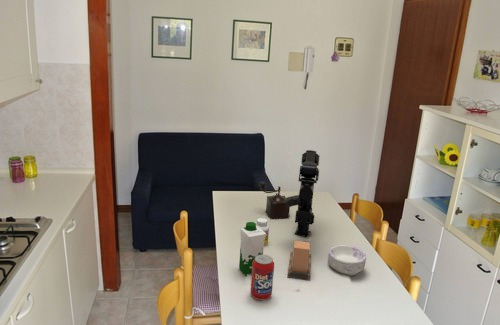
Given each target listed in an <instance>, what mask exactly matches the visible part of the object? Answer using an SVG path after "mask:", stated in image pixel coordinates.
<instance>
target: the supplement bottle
mask: <svg viewBox="0 0 500 325" xmlns="http://www.w3.org/2000/svg"><path fill="white" fill-rule="evenodd" d="M256 226H258V227H259V228H260V229H262V230H263V231H264V232H265V233H266V237H265V240H264V247H266V246H268V244H269V234H270V233H269V232H270V226H269V225H268V219H266V218H264V217H260V218H259V217H258V218H257V219H256Z"/></svg>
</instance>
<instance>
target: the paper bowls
mask: <svg viewBox="0 0 500 325" xmlns="http://www.w3.org/2000/svg"><path fill="white" fill-rule="evenodd" d="M366 255H367V254H366V253H365V252H364V251H363V250H361V249H359V247H356V246H352V245H348V244H347V245H345V244H338V245H334V246H332V247H330V248H329V250H328V255H327V263H328V265H329V266H330V267H331V268H333V270H335V271H336V272H339V273H341V274H345V275H349V277H352V276H355V275H357V274H358V273H359V272H360V273H361V272H362V271H363V270H365V267H366V264H367V263H366V261H367V256H366Z"/></svg>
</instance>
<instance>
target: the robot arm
mask: <svg viewBox="0 0 500 325" xmlns="http://www.w3.org/2000/svg"><path fill="white" fill-rule="evenodd" d="M301 155H302V156H301V165H300V168H299V174H298V175H299V176H298V182H300V185H299V186H300V187H299V192H298V194H297V195H291V196H287V197H286V202H287V206H288V207H290V208H291V207H295V206H297V210H295V218H294V223H295V224H296V223H297V225H296V226H297V227H296V231H295V232H294V235H297V236H300V237H306V238H307V237H309V235H310V234H311V232H312V231H311V230H310V225H313V224H314V223H315V213H314V212H313V207H312V206H313V197H314V189H315V188H314V187H315V184H317V181H319V176H320V175H319V174H320V169H319V168H318V166H319V165H320V154H318V153H317V151H316V150H313V149H311V150H310V149H307V150H305V152H304V153H302V154H301Z"/></svg>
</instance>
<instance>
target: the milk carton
mask: <svg viewBox="0 0 500 325" xmlns="http://www.w3.org/2000/svg"><path fill="white" fill-rule="evenodd" d="M256 224H257V222H253V221H249V222H248V221H247V222H246V223H245V227H242V228H241V227H240V249H239V260H238V261H239V262H238V263H239V265H238V269H239V270H240V272H241V273H243V275H244V276H245V277H248V275H252V263H253V260H254V259H255V257H256V256H257V255H264V247H265V246H264V240H265V237H266V233H265V232H264V231H263V230H262V229H260V228H259V227H258V226H256Z"/></svg>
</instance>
